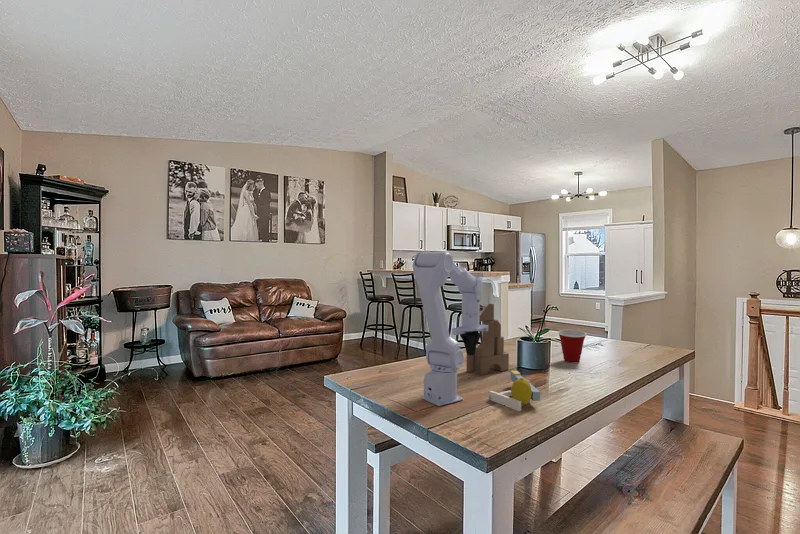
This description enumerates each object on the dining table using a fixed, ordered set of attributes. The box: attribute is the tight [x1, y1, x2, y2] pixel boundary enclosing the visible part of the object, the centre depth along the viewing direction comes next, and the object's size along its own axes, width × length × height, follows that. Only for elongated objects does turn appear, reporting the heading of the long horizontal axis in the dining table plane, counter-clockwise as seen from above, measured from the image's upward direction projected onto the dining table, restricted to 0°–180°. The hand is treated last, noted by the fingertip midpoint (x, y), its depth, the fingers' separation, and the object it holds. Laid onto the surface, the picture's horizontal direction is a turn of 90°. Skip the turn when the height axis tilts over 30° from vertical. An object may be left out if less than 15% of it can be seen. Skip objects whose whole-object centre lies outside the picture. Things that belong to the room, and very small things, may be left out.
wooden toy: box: [465, 303, 510, 376], centre depth 151 cm, size 16×7×25 cm, turn 119°
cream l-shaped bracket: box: [488, 389, 522, 412], centre depth 118 cm, size 9×11×2 cm
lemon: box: [510, 377, 532, 407], centre depth 115 cm, size 6×6×8 cm
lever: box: [510, 370, 541, 402], centre depth 124 cm, size 4×20×3 cm, turn 2°
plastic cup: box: [557, 329, 588, 363], centre depth 166 cm, size 11×11×12 cm
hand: (470, 354), depth 134 cm, fingers closed
